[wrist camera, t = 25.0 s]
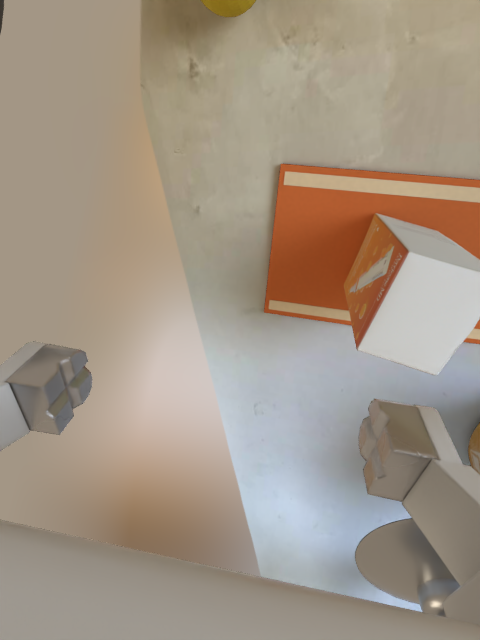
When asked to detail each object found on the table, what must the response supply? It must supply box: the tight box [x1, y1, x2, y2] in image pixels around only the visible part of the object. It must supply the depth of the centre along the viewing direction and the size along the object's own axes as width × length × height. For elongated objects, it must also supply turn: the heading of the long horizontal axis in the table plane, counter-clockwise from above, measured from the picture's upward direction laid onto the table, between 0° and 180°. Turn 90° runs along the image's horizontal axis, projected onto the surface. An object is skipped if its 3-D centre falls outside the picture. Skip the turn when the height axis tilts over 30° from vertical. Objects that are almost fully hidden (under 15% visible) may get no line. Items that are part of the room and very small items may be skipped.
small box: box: [344, 213, 480, 375], centre depth 27 cm, size 8×6×13 cm
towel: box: [264, 164, 480, 344], centre depth 33 cm, size 24×16×1 cm, turn 86°
